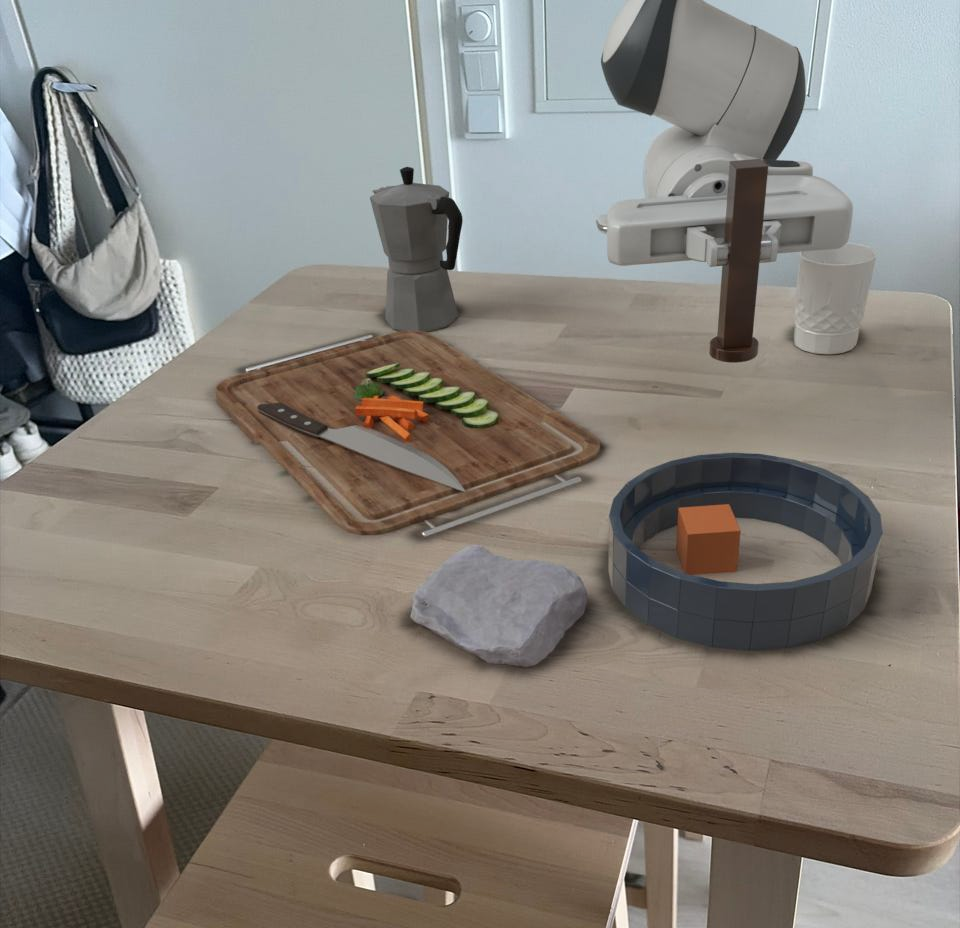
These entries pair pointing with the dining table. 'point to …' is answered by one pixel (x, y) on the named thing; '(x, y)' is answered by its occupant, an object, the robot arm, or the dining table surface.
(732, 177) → the stick
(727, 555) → the block
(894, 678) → the dining table surface
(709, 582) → the faceted bottomless ring
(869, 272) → the white cup
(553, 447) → the chopping board
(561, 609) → the stone block
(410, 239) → the coffeepot
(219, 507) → the dining table surface
